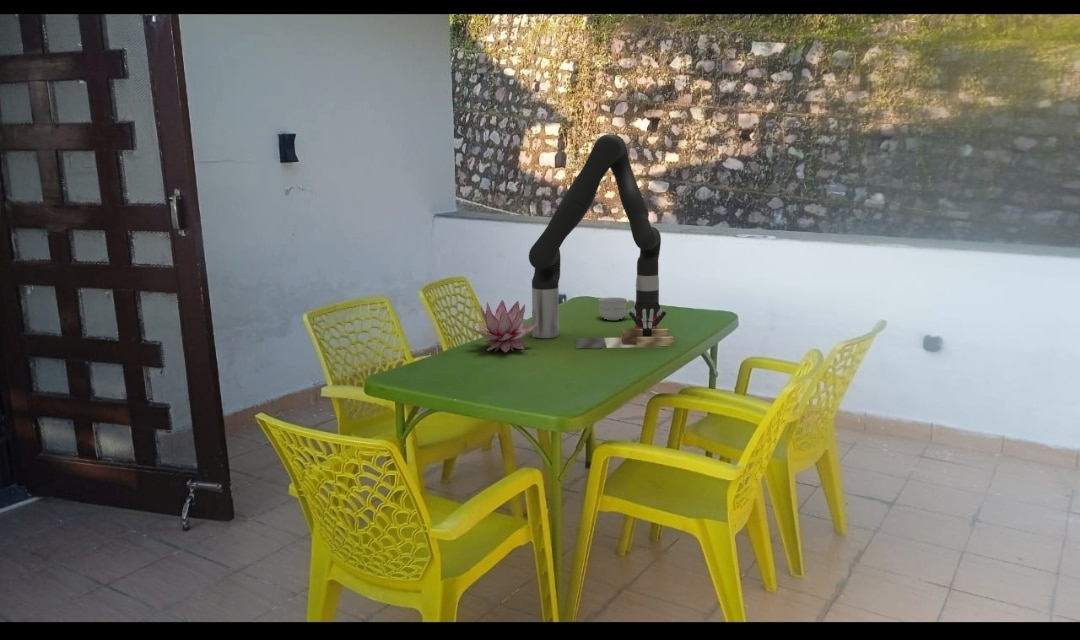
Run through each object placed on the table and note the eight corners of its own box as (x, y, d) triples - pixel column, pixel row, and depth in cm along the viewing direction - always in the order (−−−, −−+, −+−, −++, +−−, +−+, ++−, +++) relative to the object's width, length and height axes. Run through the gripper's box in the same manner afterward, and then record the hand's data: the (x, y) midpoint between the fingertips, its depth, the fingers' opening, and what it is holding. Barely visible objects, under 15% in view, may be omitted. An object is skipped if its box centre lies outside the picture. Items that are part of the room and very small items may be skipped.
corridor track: (576, 349, 266) (576, 339, 265) (574, 339, 278) (574, 329, 278) (673, 348, 266) (674, 337, 265) (667, 338, 278) (668, 328, 278)
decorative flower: (528, 359, 255) (527, 312, 251) (463, 356, 259) (461, 310, 255) (541, 342, 275) (541, 298, 272) (481, 339, 279) (479, 297, 276)
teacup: (595, 321, 304) (595, 300, 302) (601, 315, 314) (601, 295, 312) (632, 323, 300) (632, 302, 298) (637, 317, 310) (637, 296, 308)
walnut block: (623, 344, 269) (623, 333, 268) (621, 340, 275) (621, 328, 274) (641, 344, 269) (641, 332, 268) (639, 339, 275) (639, 328, 274)
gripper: (628, 290, 264) (628, 341, 268) (669, 289, 264) (668, 341, 268) (626, 286, 272) (626, 336, 275) (665, 285, 271) (665, 335, 275)
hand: (647, 338), depth 272 cm, fingers closed
